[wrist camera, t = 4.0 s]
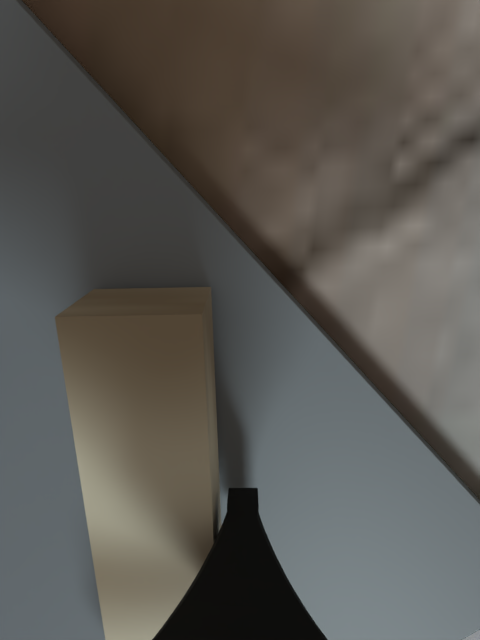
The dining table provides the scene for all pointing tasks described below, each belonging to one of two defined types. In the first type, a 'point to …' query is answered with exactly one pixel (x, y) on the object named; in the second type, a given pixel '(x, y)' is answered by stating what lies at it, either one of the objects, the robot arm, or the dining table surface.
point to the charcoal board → (230, 382)
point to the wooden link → (144, 445)
